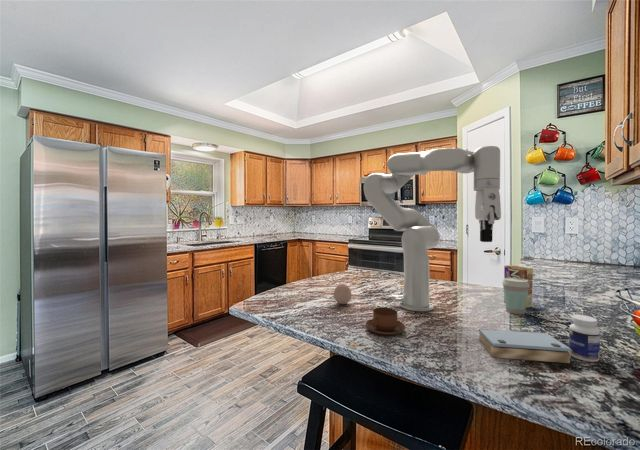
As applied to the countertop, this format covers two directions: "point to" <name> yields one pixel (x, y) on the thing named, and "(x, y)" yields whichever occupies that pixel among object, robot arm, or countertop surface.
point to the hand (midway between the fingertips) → (486, 241)
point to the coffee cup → (515, 294)
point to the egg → (342, 294)
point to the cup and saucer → (385, 322)
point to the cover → (523, 340)
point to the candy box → (523, 274)
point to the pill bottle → (584, 338)
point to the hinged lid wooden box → (525, 352)
